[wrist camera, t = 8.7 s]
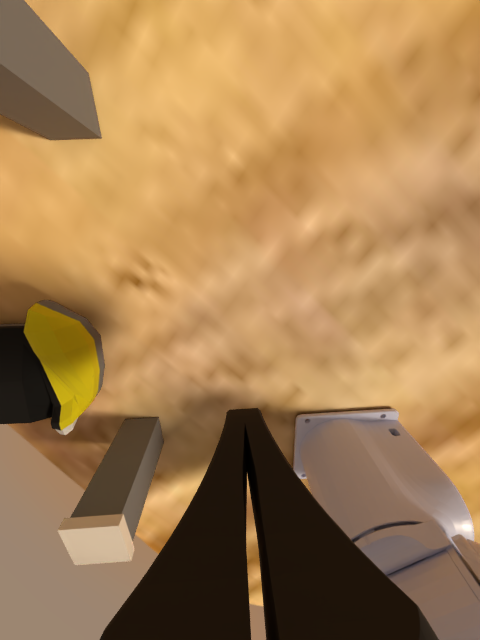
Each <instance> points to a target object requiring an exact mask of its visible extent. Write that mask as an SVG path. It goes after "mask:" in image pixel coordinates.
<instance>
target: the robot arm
mask: <svg viewBox="0 0 480 640" xmlns="http://www.w3.org/2000/svg"><path fill="white" fill-rule="evenodd" d="M398 416H399V413H398V411H397V410H396V409H378V410H362V411H347V412H331V413H315V414H301V415H298V416H297V417H296V424H295V444H294V463H293V469H292V467H291V466H290V464H289V463H288V461H287V460H286V458H285V457H284V455H283V453H282V452H281V450H280V448H279V447H278V445H277V443H276V442H275V440H274V438H273V437H272V435H271V433H270V431H269V429H268V427H267V425H266V423H265V421H264V419H263V416H262V414H261V411H260V410H259V409H258V408H252V409H236V410H229V411H228V412H227V415H226V420H225V424H224V428H223V431H222V434H221V437H220V440H219V443H218V445H217V448H216V451H215V453H214V456H213V458H212V460H211V463H210V465H209V467H208V469H207V472H206V474H205V476H204V478H203V480H202V482H201V484H200V486H199V488H198V490H197V492H196V494H195V496H194V497H193V499H192V501H191V503H190V505H189V507H188V508H187V510H186V512H185V513H184V515H183V517H182V519H181V520H180V522H179V524H178V525H177V527H176V529H175V530H174V532H173V533H172V535H171V537H170V538H169V540H168V541H167V543H166V544H165V546H164V547H163V549H162V550H161V552H160V553H159V555H158V556H157V558H156V559H155V561H154V562H153V564H152V565H151V567H150V568H149V570H148V571H147V573H146V574H145V575H144V577H143V578H142V580H141V581H140V583H139V584H138V585H137V587H136V588H135V589H134V591H133V592H132V593H131V595H130V596H129V598H128V599H127V600H126V601H125V603H124V604H123V605H122V607H121V608H120V610H119V611H118V612H117V614H116V615H115V616H114V618H113V619H112V620H111V622H110V623H109V624H108V626H107V627H106V628H105V630H104V632H103V634H102V636H101V638H100V640H251V629H250V610H249V592H248V573H247V554H246V504H247V474H248V481H249V487H250V494H251V500H252V507H253V513H254V519H255V526H256V532H257V540H258V548H259V558H260V570H261V581H262V593H263V605H264V617H265V629H266V640H480V544H478V543H476V542H474V528H473V523H472V519H471V516H470V513H469V511H468V508H467V506H466V504H465V502H464V500H463V498H462V496H461V495H460V493H459V491H458V490H457V488H456V487H455V485H454V484H453V482H452V481H451V480H450V479H449V477H448V476H447V475H446V474H445V473H444V471H443V470H442V469H441V468H440V467H439V466H438V465H437V464H436V463H435V461H434V460H433V459H432V458H431V457H430V456H429V455H428V454H427V452H426V451H425V450H424V449H423V448H422V447H421V446H420V445H419V444H418V442H417V441H416V440H415V439H414V438H413V437H412V436H411V435H410V434H409V432H408V431H407V430H406V429H405V428H404V427H403V426H402V425H401V423H400V422H399V421H398ZM306 419H308V420H306ZM305 478H307V480H308V483H309V486H310V490H311V493H312V494H311V493H310V492H309V490H308V489H307V488H306V487H305V485H304V484H303V483H302V481H301V480H300V479H305Z"/></svg>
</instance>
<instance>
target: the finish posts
mask: <svg viewBox="0 0 480 640" xmlns="http://www.w3.org/2000/svg"><path fill="white" fill-rule="evenodd" d="M0 114H1V115H3V116H5V117H7V118H9V119H11V120H13V121H15V122H17V123H19V124H20V125H22V126H24V127H26V128H28V129H30V130H32V131H34V132H36V133H38V134H40V135H42V136H44V137H46V138H48V139H50V140H68V139H97V138H102V137H101V132H100V127H99V122H98V117H97V112H96V108H95V103H94V98H93V93H92V88H91V83H90V78H89V73H88V72H87V71H86V70H85V69H84V67H83V66H82V65H81V64H80V63H79V62H78V61H77V60H76V58H75V57H74V56H73V55H72V54H71V53H70V52H69V50H68V49H67V48H66V47H65V46H64V45H63V44H62V43H61V41H60V40H59V39H58V38H57V37H56V36H55V35H54V34H53V32H52V31H51V30H50V29H49V28H48V27H47V26H46V24H45V23H44V22H43V21H42V20H41V19H40V18H39V17H38V15H37V14H36V13H35V12H34V11H33V10H32V9H31V8H30V6H29V5H28V4H27V3H26V2H25V1H24V0H0ZM163 443H164V441H163V436H162V431H161V426H160V421H159V417H153V418H138V419H125V421H124V422H123V424H122V426H121V428H120V430H119V431H118V433H117V435H116V437H115V439H114V440H113V442H112V444H111V446H110V447H109V449H108V451H107V453H106V455H105V456H104V458H103V460H102V462H101V464H100V465H99V467H98V469H97V471H96V473H95V474H94V476H93V478H92V480H91V482H90V483H89V485H88V487H87V489H86V491H85V492H84V494H83V496H82V498H81V500H80V501H79V503H78V505H77V507H76V508H75V510H74V512H73V514H72V516H71V517H70V518H64V520H63V522H62V523H61V525H60V527H59V529H58V532H59V535H60V536H61V539H62V541H63V542H64V545H65V546H66V549H67V551H68V553H69V555H70V557H71V559H72V561H73V563H74V565H85V564H97V563H111V562H124V561H131V559H132V556H133V553H134V549H135V548H134V545H133V538H134V536H135V532H136V529H137V526H138V523H139V520H140V516H141V513H142V510H143V507H144V504H145V500H146V497H147V494H148V491H149V488H150V485H151V481H152V478H153V475H154V472H155V469H156V465H157V462H158V459H159V456H160V453H161V449H162V446H163Z"/></svg>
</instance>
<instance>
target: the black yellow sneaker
mask: <svg viewBox="0 0 480 640" xmlns="http://www.w3.org/2000/svg"><path fill="white" fill-rule="evenodd" d="M104 368H105V363H104V356H103V350H102V343H101V336H100V334H99V333H98V332H97V331H96V329H95V328H94V327H93V326H92V325H91V323H90V322H89V321H88V320H87V319H86V318H84V317H82V316H80V315H79V314H77V313H75V312H73V311H71V310H69V309H67V308H65V307H63V306H62V305H60V304H58V303H56V302H54V301H50V300H42V301H39V302H37V303H35V304H34V305H33V306H32V307H31V308H29V309H28V312H27V317H26V322H25V324H0V424H14V423H32V422H35V421H39V420H43V419H46V418H50V417H52V419H51V426H52V428H53V429H55V430H56V431H57V432H58V433H59V434H62V435H66V434H68V433H69V432H70V431H72V430H73V428H74V426H75V424H76V421H77V419H78V417H79V416H80V415H81V414H82V413H83V412H84V411H85V410H86V409H87V408H88V406H89V405H90V404H91V403H92V402H93V401H94V398H95V397H96V395H97V394H98V393H99V391H100V389H101V387H102V382H103V375H104Z"/></svg>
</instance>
